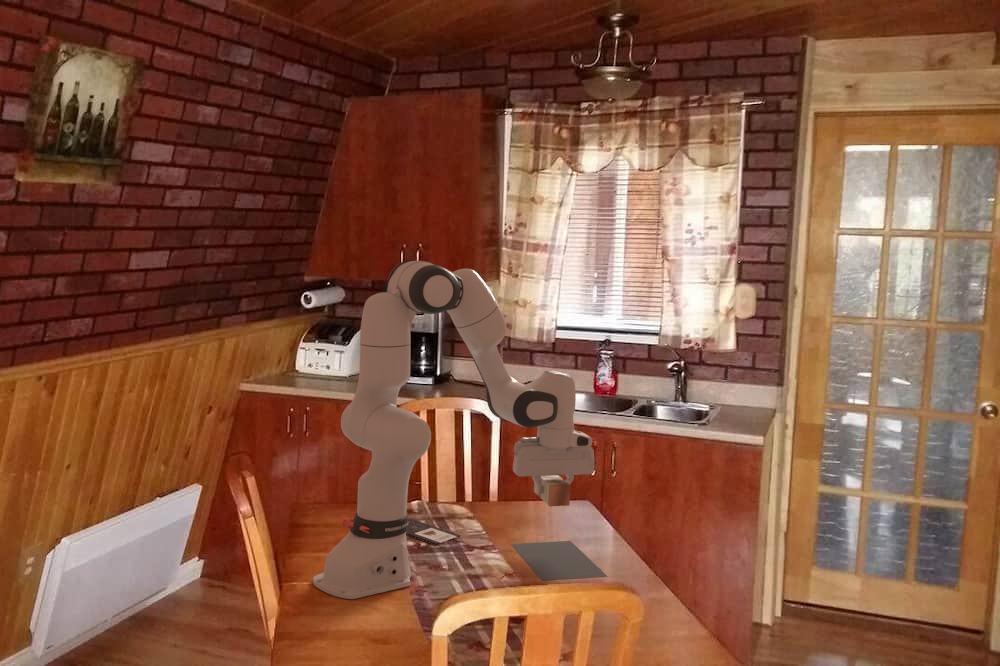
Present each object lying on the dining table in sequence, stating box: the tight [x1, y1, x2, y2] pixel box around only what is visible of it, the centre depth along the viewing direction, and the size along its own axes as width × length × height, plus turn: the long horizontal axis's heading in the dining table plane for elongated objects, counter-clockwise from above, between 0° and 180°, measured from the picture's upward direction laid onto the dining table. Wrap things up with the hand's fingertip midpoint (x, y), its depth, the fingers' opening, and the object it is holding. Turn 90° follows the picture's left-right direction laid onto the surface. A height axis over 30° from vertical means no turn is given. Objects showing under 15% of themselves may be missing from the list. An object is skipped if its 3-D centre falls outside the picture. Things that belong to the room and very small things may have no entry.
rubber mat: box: [510, 540, 608, 582], centre depth 219 cm, size 24×16×1 cm, turn 17°
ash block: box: [533, 475, 571, 507], centre depth 224 cm, size 5×5×12 cm
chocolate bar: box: [406, 518, 461, 546], centre depth 236 cm, size 9×1×18 cm
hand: (552, 492), depth 223 cm, fingers closed on ash block, 5 cm apart
